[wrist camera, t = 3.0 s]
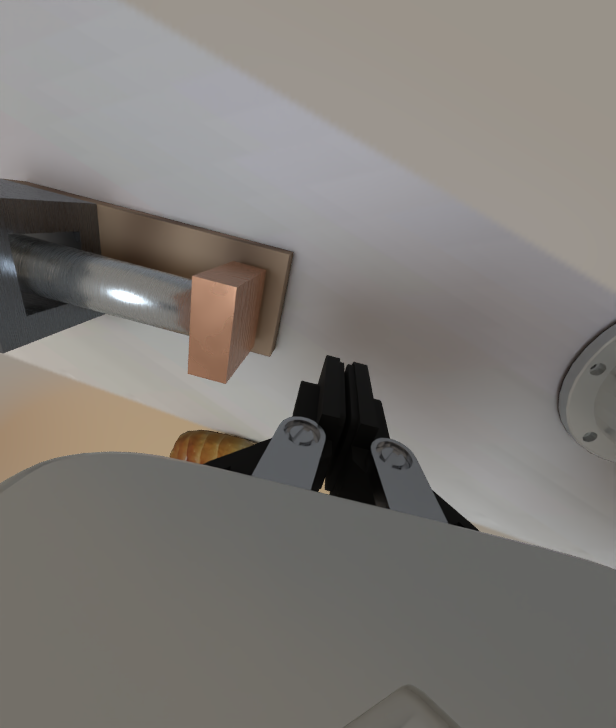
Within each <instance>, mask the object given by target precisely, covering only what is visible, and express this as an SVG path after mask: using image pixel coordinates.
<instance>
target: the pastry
mask: <svg viewBox="0 0 616 728" xmlns="http://www.w3.org/2000/svg"><path fill="white" fill-rule="evenodd" d="M252 445H254V444H252V443H250V442H249V441H248V440H246V439H242V438H239V437H236V436H230V435H228V434H222V433H218V432H214V431H209V430H197V431H187V432H186V433H183V434H182V435H180V436H179V438H178V440H177V441H176V443H175V445H174V448H173V450H172V451H171V453H170V458H174V459H179V460H183V461H188V462H193V463H198V464H204V463H206V462H208V461H211V460H214V459H216V458H219V457H222V456H224V455H227V454H230V453H233V452H235V451H238V450H241V449H244V448H246V447H249V446H252Z"/></svg>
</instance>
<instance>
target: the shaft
mask: <svg viewBox="0 0 616 728" xmlns="http://www.w3.org/2000/svg"><path fill="white" fill-rule="evenodd" d="M8 239H9V243H10V248H11V252H12V256H13V261H14V265H15V269H16V273H17V278H18V282H19V286H20V291H23V292H27V293H31V294H35V295H38V296H42V297H46V298H50V299H53V300H57V301H61V302H64V303H68V304H72V305H76V306H79V307H83V308H87V309H91V310H94V311H98V312H102V313H106V314H109V315H113V316H117V317H121V318H124V319H128V320H132V321H136V322H139V323H143V324H147V325H151V326H154V327H158V328H162V329H165V330H169V331H173V332H177V333H180V334H184V335H188V336H189V359H188V374H191V375H195V376H198V377H202V378H206V379H209V380H213V381H217V382H221V383H224V384H226V383H227V381H228V380H229V379H230V377H231V376H232V375H233V373H234V372H235V371H236V369H237V368H238V367H239V365H240V364H241V363H242V362H243V360H244V359H245V358H246V356H247V355H248V354H249V352H250V351H251V350H252V348H253V347H254V344H255V338H256V331H257V325H258V319H259V313H260V306H261V300H262V294H263V287H264V281H265V275H266V270H265V269H261V268H258V267H254V266H250V265H246V264H243V263H239V262H235V261H232V262H229V263H226V264H223V265H221V266H218V267H215V268H212V269H209V270H207V271H204V272H201V273H198V274H196V275H193V276H192V279H189V278H185V277H181V276H177V275H174V274H170V273H166V272H162V271H158V270H155V269H151V268H147V267H143V266H140V265H136V264H132V263H128V262H125V261H121V260H117V259H113V258H109V257H106V256H102V255H98V254H94V253H91V252H87V251H83V250H79V249H76V248H72V247H68V246H64V245H60V244H57V243H53V242H49V241H45V240H42V239H38V238H34V237H30V236H27V235H23V234H8Z"/></svg>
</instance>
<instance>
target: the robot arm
mask: <svg viewBox="0 0 616 728" xmlns="http://www.w3.org/2000/svg"><path fill="white" fill-rule="evenodd" d="M559 413H560V417H561V421H562V423H563V425H564V427H565V428H566V430H567V432H568V433H569V434H570V435H571V436H572V437H573V438H574V439H575V440H576V441H577V442H578V444H579V445H581V446H582V447H583V448H585V449H586V450H587V451H588V452H590V453H592V454H594V455H596V456H598V457H600V458H602V459H605V460H608V461H612V462H616V324H614V325H613V326H612V327H610V328H609V329H607V330H606V331H604V332H603V333H602V334H601V335H600V336H598V337H597V338H596V339H595V340H594V341H593V342H592V343H591V344H590V345H589V346H588V347H586V348H585V350H584V351H583V352H582V353H581V355H580V356H579V357H578V358H577V360H576V361H575V362H574V363H573V365H572V366H571V368H570V370H569V372H568V374H567V375H566V377H565V379H564V382H563V385H562V388H561V391H560V394H559ZM324 479H325V490H327V491H330V495H328V494H324V493H320V492H318V491H319V489H321V487H322V485H323V482H324ZM0 728H616V570H615V569H612V568H609V567H607V566H604V565H601V564H598V563H595V562H592V561H590V560H586V559H583V558H579V557H576V556H572V555H568V554H565V553H561V552H558V551H554V550H551V549H547V548H543V547H539V546H535V545H531V544H527V543H523V542H519V541H515V540H511V539H507V538H503V537H499V536H495V535H491V534H487V533H483V532H480V531H479V530H478V529H477V528H476V527H474V526H473V525H472V524H471V523H470V522H469V521H468V520H466V519H465V518H464V517H463V516H462V515H461V514H459V513H458V512H457V511H456V510H455V509H454V508H452V507H451V506H450V505H449V504H448V503H447V502H445V501H444V500H443V499H442V498H441V497H440V496H438V495H437V494H436V493H435V492H434V491H433V490H432V489H431V487H430V485H429V483H428V481H427V479H426V477H425V475H424V473H423V471H422V469H421V467H420V465H419V463H418V461H417V459H416V457H415V456H414V454H413V453H412V451H411V450H409V449H408V448H407V447H406V446H405V445H403V444H402V443H400V442H398V441H396V440H393V439H390V437H389V433H388V428H387V424H386V420H385V415H384V411H383V407H382V403H381V401H380V400H377V399H374V398H373V393H372V388H371V382H370V377H369V372H368V366H367V365H364V364H360V363H356V362H353V364H352V365H350V364H348V365H347V367H346V370H345V373H344V363H342V362H340V358H336V357H332V356H329V355H327V356H326V358H325V362H324V365H323V368H322V372H321V375H320V379H319V382H318V385H317V384H313V383H309V382H305V381H301V384H300V388H299V392H298V396H297V400H296V404H295V408H294V412H293V416H292V417H289V418H287V419H285V420H283V421H282V422H281V423H280V425H279V427H278V428H277V430H276V432H275V434H274V436H273V437H272V438H271V439H268V440H265V441H263V442H260V443H257V444H254V445H252V446H249V447H246V448H244V449H241V450H238V451H235V452H233V453H230V454H227V455H224V456H222V457H219V458H216V459H214V460H211V461H208V462H206V463H204V464H198V463H193V462H188V461H183V460H179V459H174V458H169V457H164V456H157V455H151V454H143V453H131V452H96V453H82V454H75V455H69V456H63V457H59V458H54V459H51V460H47V461H45V462H41V463H39V464H36V465H34V466H32V467H30V468H27V469H25V470H23V471H21V472H19V473H17V474H16V475H14V476H12V477H10V478H8V479H7V480H5V481H3V482H2V483H0Z"/></svg>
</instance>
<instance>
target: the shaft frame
mask: <svg viewBox="0 0 616 728" xmlns="http://www.w3.org/2000/svg"><path fill="white" fill-rule="evenodd" d="M8 234H23V235H27V236H30V237H34V238H38V239H42V240H45V241H49V242H53V243H57V244H60V245H64V246H68V247H72V248H76V249H79V250H83V251H87V252H91V253H94V254H98V255H102V256H106V257H109V258H113V259H117V260H121V261H125V262H128V263H132V264H136V265H140V266H143V267H147V268H151V269H155V270H158V271H162V272H166V273H170V274H174V275H177V276H181V277H185V278H189V279H192V276H193V275H196V274H198V273H201V272H204V271H207V270H209V269H212V268H215V267H218V266H221V265H223V264H226V263H229V262H232V261H235V262H239V263H243V264H246V265H250V266H254V267H258V268H261V269H265V270H266V275H265V281H264V287H263V294H262V300H261V306H260V313H259V319H258V325H257V331H256V338H255V344H254V347H253V348H252V350H251V351H250V352H254V353H258V354H262V355H265V356H269V357H270V356H271V354H272V352H273V351H274V349H275V345H276V340H277V335H278V329H279V324H280V319H281V314H282V309H283V304H284V299H285V294H286V289H287V283H288V278H289V273H290V268H291V263H292V258H293V253H294V252H291V251H288V250H284V249H280V248H276V247H272V246H269V245H265V244H261V243H257V242H253V241H250V240H246V239H242V238H238V237H234V236H231V235H227V234H223V233H219V232H215V231H212V230H208V229H204V228H200V227H196V226H193V225H189V224H185V223H181V222H178V221H174V220H170V219H166V218H162V217H159V216H155V215H151V214H147V213H143V212H140V211H136V210H132V209H128V208H124V207H121V206H117V205H113V204H109V203H105V202H102V201H98V200H94V199H90V198H86V197H83V196H79V195H75V194H71V193H67V192H64V191H60V190H56V189H52V188H48V187H45V186H41V185H37V184H33V183H29V182H26V181H17V180H8V179H0V353H6V352H8V351H11V350H13V349H16V348H18V347H21V346H24V345H26V344H29V343H31V342H34V341H37V340H39V339H42V338H44V337H47V336H49V335H52V334H55V333H57V332H60V331H62V330H65V329H68V328H70V327H73V326H75V325H78V324H81V323H83V322H86V321H88V320H91V319H93V318H96V317H99V316H101V315H104V314H106V313H102V312H98V311H94V310H91V309H87V308H83V307H79V306H76V305H72V304H68V303H64V302H61V301H57V300H53V299H50V298H46V297H42V296H38V295H35V294H31V293H27V292H23V291H20V286H19V282H18V278H17V273H16V269H15V265H14V261H13V256H12V252H11V248H10V243H9V239H8Z"/></svg>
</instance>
